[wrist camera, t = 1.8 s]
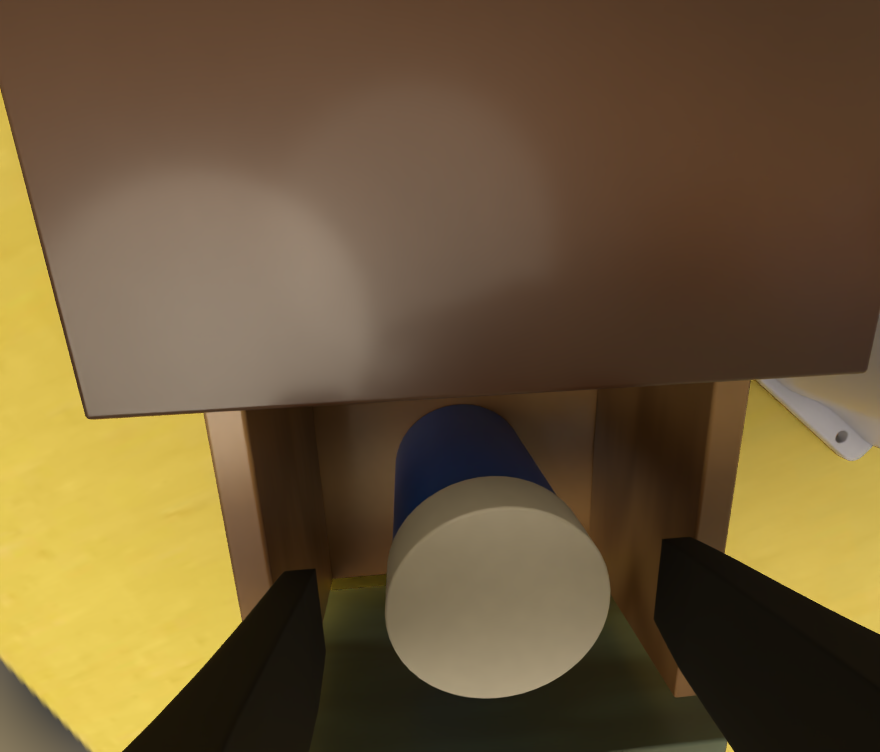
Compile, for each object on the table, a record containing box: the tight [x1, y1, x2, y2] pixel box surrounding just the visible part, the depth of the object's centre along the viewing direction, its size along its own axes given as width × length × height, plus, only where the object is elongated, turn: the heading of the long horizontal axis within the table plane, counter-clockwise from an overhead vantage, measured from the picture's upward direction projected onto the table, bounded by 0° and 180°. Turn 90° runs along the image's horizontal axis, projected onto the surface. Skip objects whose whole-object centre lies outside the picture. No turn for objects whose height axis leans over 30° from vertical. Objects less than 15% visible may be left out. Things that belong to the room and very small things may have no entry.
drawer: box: [204, 380, 751, 752], centre depth 13 cm, size 18×12×7 cm
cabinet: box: [0, 0, 880, 419], centre depth 10 cm, size 15×14×9 cm
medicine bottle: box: [385, 404, 611, 698], centre depth 12 cm, size 5×5×6 cm
